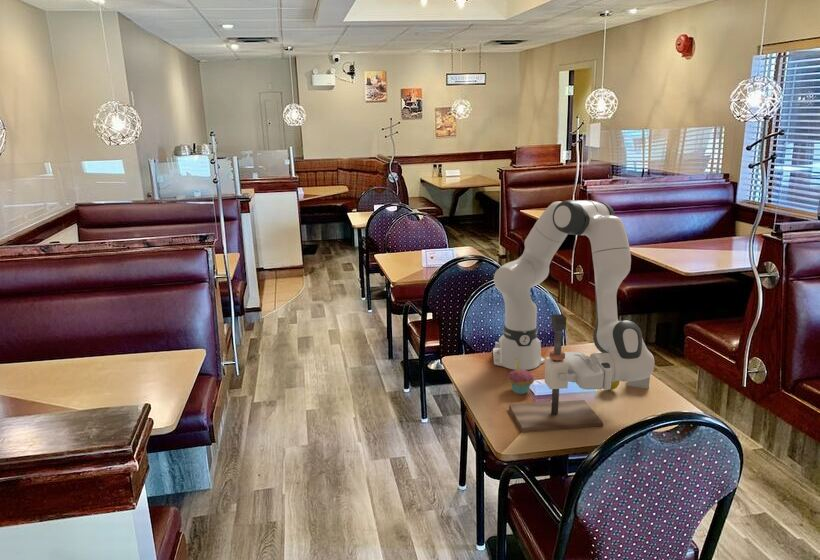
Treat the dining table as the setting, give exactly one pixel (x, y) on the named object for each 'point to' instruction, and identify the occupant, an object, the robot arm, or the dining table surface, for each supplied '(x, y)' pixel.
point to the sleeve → (555, 373)
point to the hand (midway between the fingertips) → (553, 370)
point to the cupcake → (520, 380)
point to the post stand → (555, 401)
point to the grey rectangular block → (640, 383)
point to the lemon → (614, 385)
